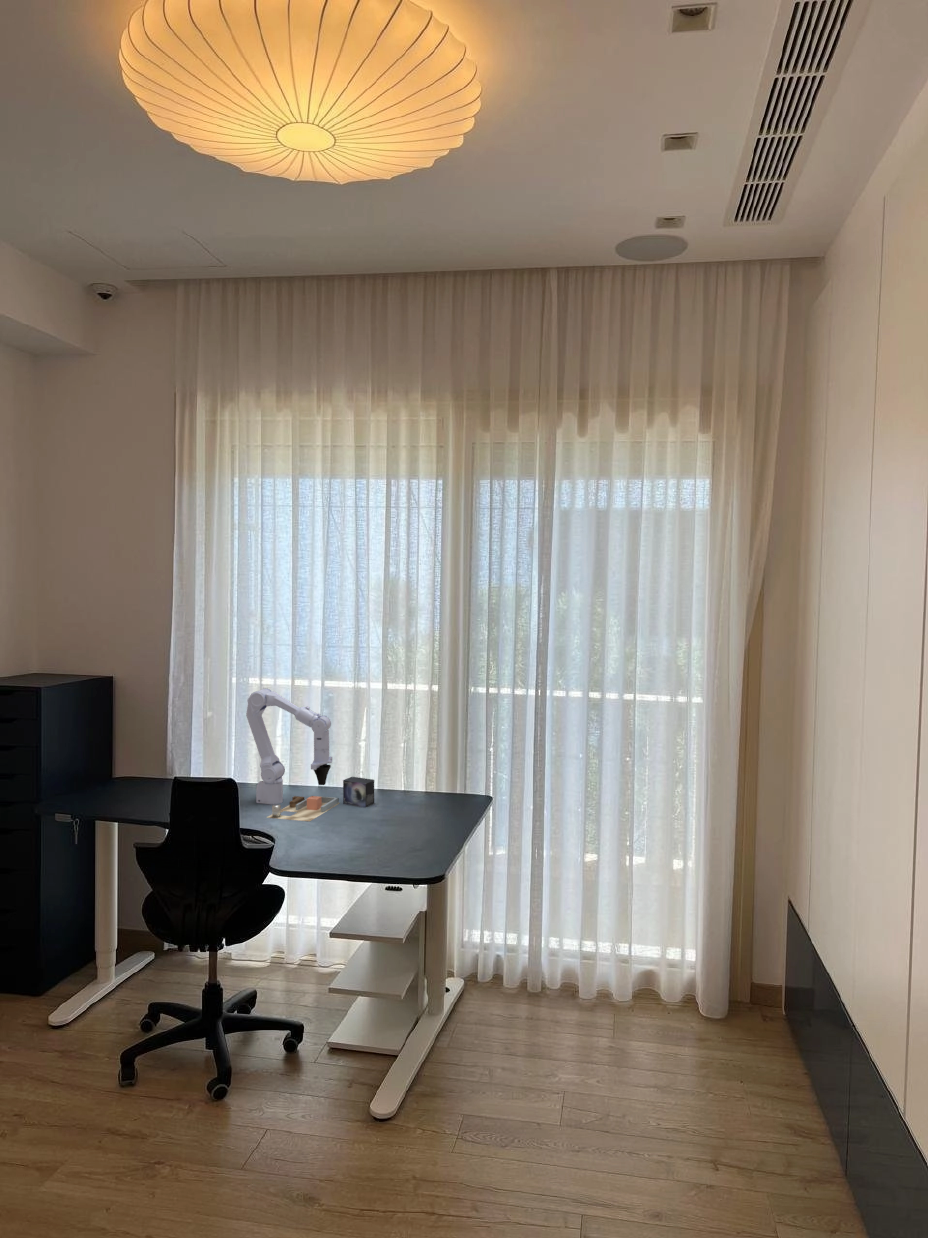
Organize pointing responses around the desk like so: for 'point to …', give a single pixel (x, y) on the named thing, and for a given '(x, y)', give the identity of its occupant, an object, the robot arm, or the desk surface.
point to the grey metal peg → (276, 811)
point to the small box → (358, 791)
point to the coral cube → (314, 803)
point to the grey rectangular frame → (328, 800)
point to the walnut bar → (296, 801)
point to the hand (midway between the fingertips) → (321, 784)
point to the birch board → (301, 813)
